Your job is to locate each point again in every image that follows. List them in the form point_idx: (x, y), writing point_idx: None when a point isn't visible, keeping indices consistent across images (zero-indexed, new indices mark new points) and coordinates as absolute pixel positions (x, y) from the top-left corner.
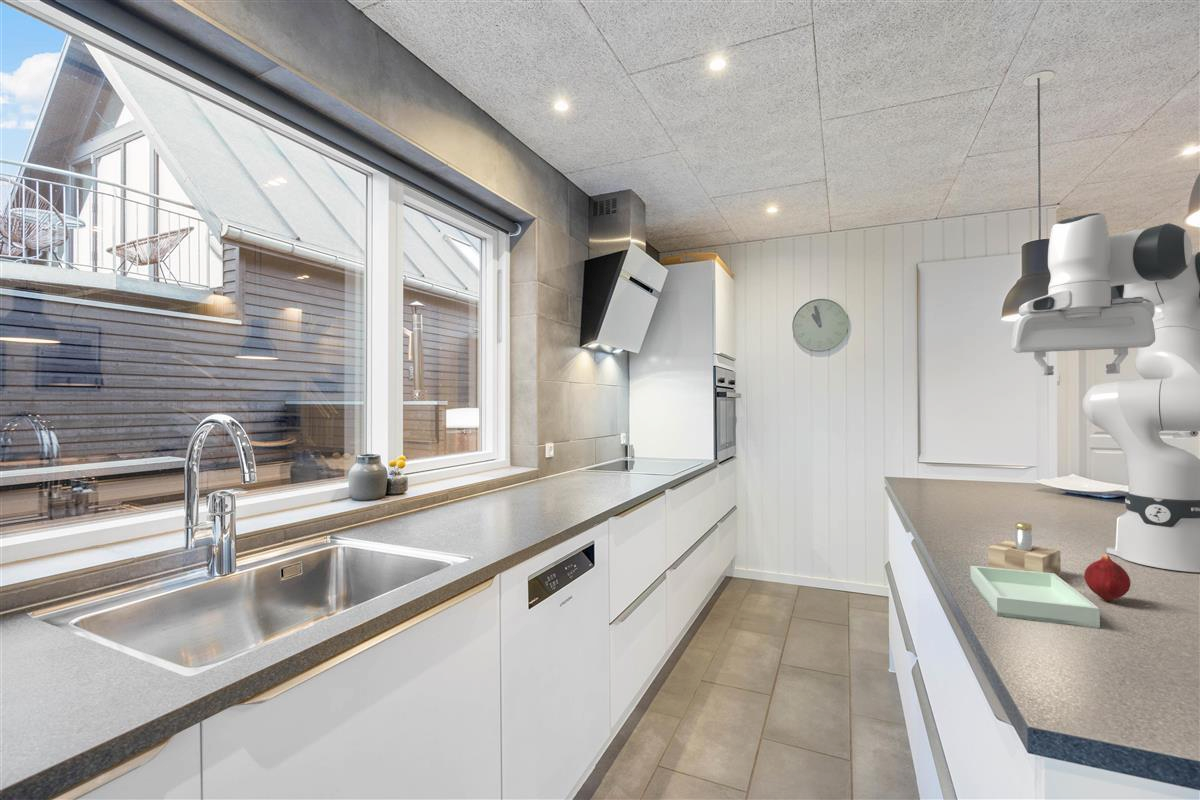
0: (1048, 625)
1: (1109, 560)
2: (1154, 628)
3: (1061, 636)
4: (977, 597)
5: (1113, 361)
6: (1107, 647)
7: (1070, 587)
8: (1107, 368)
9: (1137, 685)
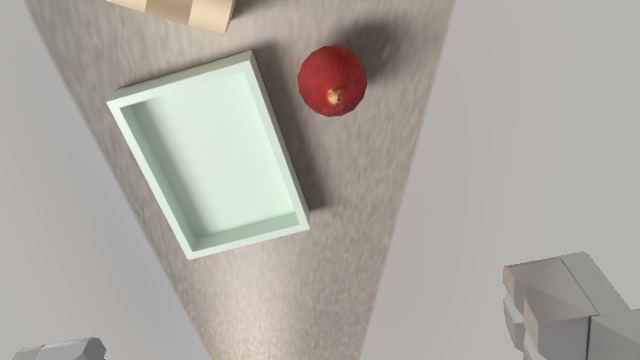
0: None
1: (338, 104)
2: (373, 169)
3: (268, 266)
4: None
5: (621, 340)
6: (312, 270)
7: (276, 144)
8: (526, 310)
9: (328, 342)
